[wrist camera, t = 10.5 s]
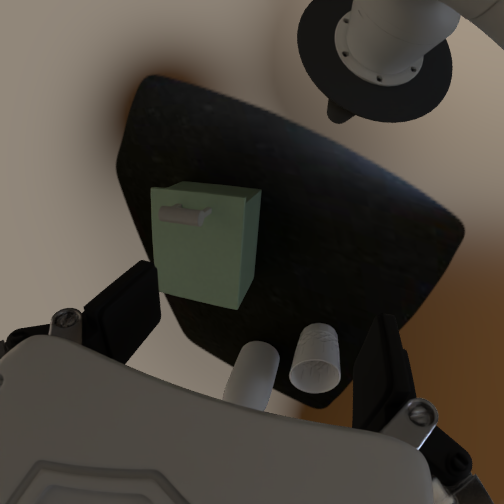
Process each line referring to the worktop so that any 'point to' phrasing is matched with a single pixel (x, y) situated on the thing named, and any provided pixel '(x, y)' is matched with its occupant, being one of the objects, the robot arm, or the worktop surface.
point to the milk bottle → (253, 376)
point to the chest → (249, 224)
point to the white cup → (316, 359)
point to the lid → (198, 244)
